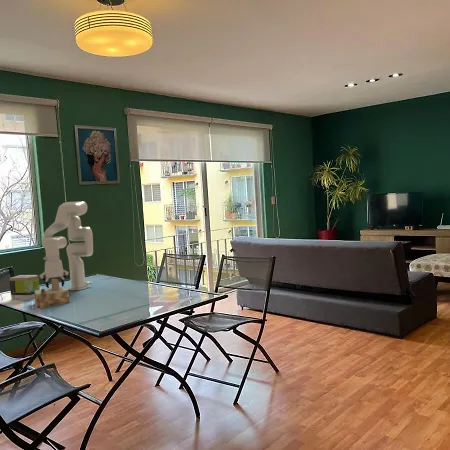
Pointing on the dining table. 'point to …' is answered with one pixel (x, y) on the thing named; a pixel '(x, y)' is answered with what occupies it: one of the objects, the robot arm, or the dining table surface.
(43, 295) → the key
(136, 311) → the dining table surface
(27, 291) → the tea box
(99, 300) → the dining table surface
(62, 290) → the lid
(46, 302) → the open wooden box
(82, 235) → the robot arm
